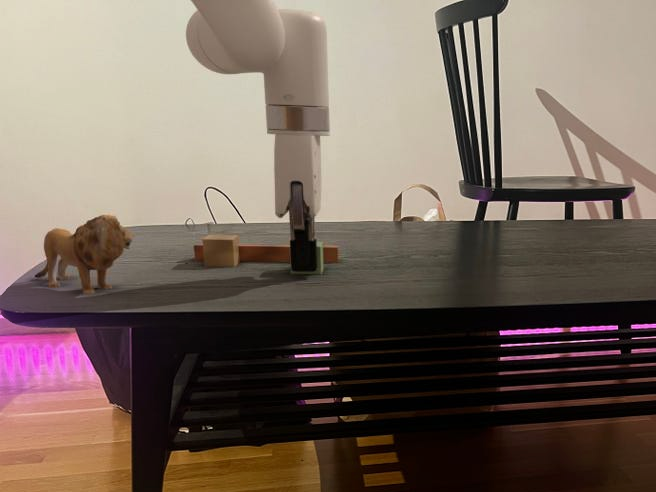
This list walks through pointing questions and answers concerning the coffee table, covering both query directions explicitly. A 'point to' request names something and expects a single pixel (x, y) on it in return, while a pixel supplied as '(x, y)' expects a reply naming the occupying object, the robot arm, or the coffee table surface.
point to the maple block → (221, 250)
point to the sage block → (319, 261)
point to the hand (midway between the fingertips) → (304, 270)
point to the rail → (269, 253)
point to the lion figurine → (86, 250)
